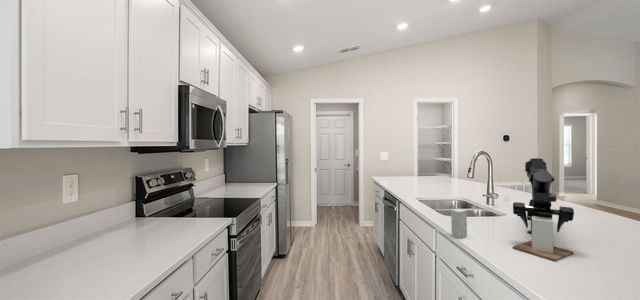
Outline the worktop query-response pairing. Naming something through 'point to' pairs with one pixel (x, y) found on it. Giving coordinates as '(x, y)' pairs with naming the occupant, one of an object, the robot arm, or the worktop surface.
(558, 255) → the flat brown board
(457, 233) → the skincare box
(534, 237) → the pale green box
